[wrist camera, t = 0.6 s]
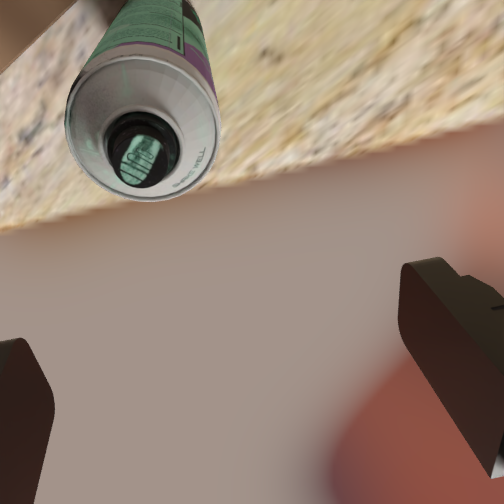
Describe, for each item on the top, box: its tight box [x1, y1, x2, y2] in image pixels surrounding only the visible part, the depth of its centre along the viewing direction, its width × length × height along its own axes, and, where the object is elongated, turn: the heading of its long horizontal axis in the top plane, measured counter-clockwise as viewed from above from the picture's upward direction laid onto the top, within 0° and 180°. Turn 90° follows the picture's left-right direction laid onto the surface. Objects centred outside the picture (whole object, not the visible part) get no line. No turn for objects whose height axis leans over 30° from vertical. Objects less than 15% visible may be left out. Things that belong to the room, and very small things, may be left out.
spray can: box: [64, 0, 221, 202], centre depth 22 cm, size 6×6×20 cm
